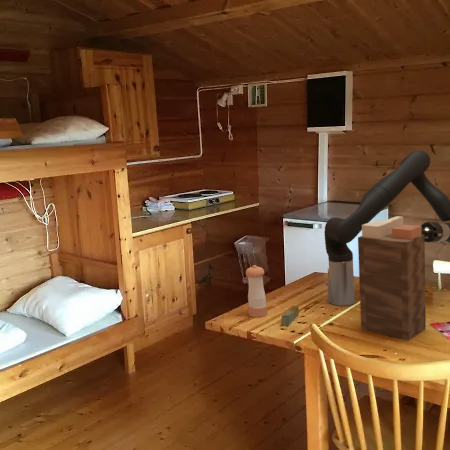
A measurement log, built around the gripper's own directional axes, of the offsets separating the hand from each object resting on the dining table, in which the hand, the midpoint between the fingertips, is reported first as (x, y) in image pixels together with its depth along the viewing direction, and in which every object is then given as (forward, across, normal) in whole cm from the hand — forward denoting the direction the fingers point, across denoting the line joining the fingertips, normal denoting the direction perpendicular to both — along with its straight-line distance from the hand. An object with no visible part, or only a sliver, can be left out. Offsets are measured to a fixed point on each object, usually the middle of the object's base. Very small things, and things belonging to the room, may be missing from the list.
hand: (407, 232), depth 194 cm
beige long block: (+15, +2, -1) cm, 15 cm away
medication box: (+31, -23, +35) cm, 53 cm away
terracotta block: (+17, +12, 0) cm, 21 cm away
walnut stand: (+14, +8, +31) cm, 35 cm away
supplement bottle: (-10, -41, +28) cm, 51 cm away
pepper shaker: (+35, -37, +36) cm, 63 cm away
